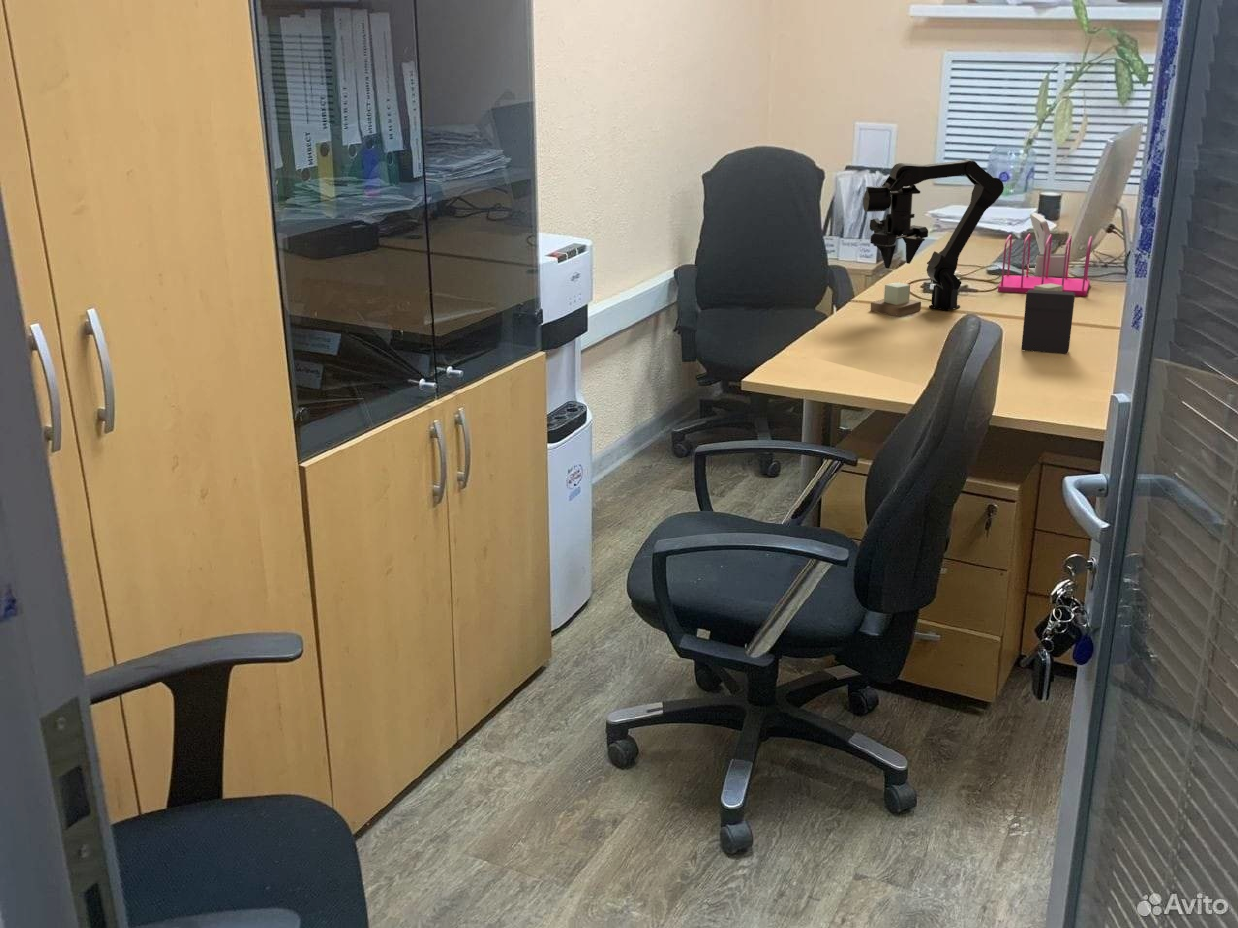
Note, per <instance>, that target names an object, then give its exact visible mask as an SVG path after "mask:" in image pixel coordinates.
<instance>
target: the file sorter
mask: <svg viewBox="0 0 1238 928" xmlns="http://www.w3.org/2000/svg"><path fill="white" fill-rule="evenodd" d="M1072 239H1073V237H1072V235H1069V236H1068V239H1067V241H1066V246H1065V251H1064V252H1065V253H1064V254H1065V259H1064V268H1063V276H1062V277H1048V269H1049V260H1050V251H1051V249H1052V242H1053V241H1052V240H1053V234H1051V233H1050V235H1049V237H1048V239H1047V241H1046V244H1045V251H1044V260H1043V271H1042V277H1038V276H1032V275H1031V276H1029V264H1030V256H1031V255H1030V254H1031V252H1030V251H1031V240H1032V239H1031V233H1028V234H1027V236H1026V237H1025V239H1024V243H1023V251H1022V252H1023V253H1022V265H1021V275H1010V268H1011V266H1010V265H1011V255H1012V254H1011V253H1012V246H1013V245H1012V242H1013V241H1012V240H1013V235H1012V234H1009V235H1008V236H1007V238H1006V240H1005V243H1004V247H1003V248H1004V249H1003V258H1002V259H1003V260H1002V270H1001V281H1000V283H999V285H998V287H997V292H1001V293H1023V294H1027V292H1028V290H1034V286H1036V285H1042V284H1048V283H1053V284H1057V285H1062V286H1063V290H1062V291H1063V292H1074V293H1075V297H1086V296H1087V293H1088V290H1089V287H1090V281H1091V280H1090V279H1088V273H1089V266H1090V257H1091V249H1092V241H1093V236H1092V235H1090V236H1089V238H1088V243H1087V245H1086V246H1087V247H1086V255H1085V263H1084V272H1083V278H1069V277H1068V276H1069V274H1068V273H1069V265H1070V257H1071V247H1072ZM1027 242H1028V245H1027ZM1008 243H1009V248H1008V249H1009V250H1008V262H1007V271H1006V274H1005V268H1006V267H1005V266H1006V255H1007V246H1008ZM1048 243H1049V252H1048V261H1047V270H1046V277H1044V271H1045V261H1046V251H1047V245H1048ZM1026 245H1027V246H1026ZM1026 247H1027V248H1028V249H1027V257H1026ZM1051 252H1052V251H1051ZM1067 255H1068V258H1067ZM1025 258H1027V260H1026V264H1027V268H1026V274H1025ZM1066 259H1067V267H1066ZM1065 268H1066V276H1065ZM1024 274H1025V275H1024Z"/></svg>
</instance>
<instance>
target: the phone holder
mask: <svg viewBox="0 0 1238 928" xmlns="http://www.w3.org/2000/svg"><path fill="white" fill-rule="evenodd" d="M1029 217H1030V218H1029V219H1030V222H1031V226H1032V228H1033V232H1034V236H1035V240H1036V243H1037V246H1038V250H1039V254H1037V255H1036V259H1035V264H1036V266H1035V268H1029V270H1030V271H1029V270H1028V271H1029V272H1030V273H1031V274H1033V275H1034V277H1042V271H1043V260H1044V251H1045V244H1046V241H1047V239H1048V237H1049V235H1050V234H1051V231H1050V227H1049V224H1048V221H1047V219H1046V218H1045V217H1044V216H1042V215H1040V214H1039V213H1037V212H1034V213H1030V214H1029ZM1049 243H1050V242H1048V245H1047V251H1046V261H1045V271H1044V277H1046V270H1047V261H1048V252H1049ZM1067 258H1068V254H1067ZM1064 259H1065V253H1052V251H1050V260H1049V269H1048V277H1051V278H1056V277H1063V268H1064ZM1066 267H1067V259H1066ZM1065 276H1066V268H1065Z"/></svg>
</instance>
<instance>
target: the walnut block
mask: <svg viewBox="0 0 1238 928" xmlns="http://www.w3.org/2000/svg"><path fill="white" fill-rule="evenodd" d="M921 307H922V302H921V301H920V300H914V299H910V298H909V302H908V303H903V304H899V305H895V304H891V303H887V302H884V298H883V299H879V300H876V301H871V302H870V312H875V313H879V314H885V315H890V316H894V317H902V316H907V315H909V314H912V313H916V312H919V311H921Z"/></svg>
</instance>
